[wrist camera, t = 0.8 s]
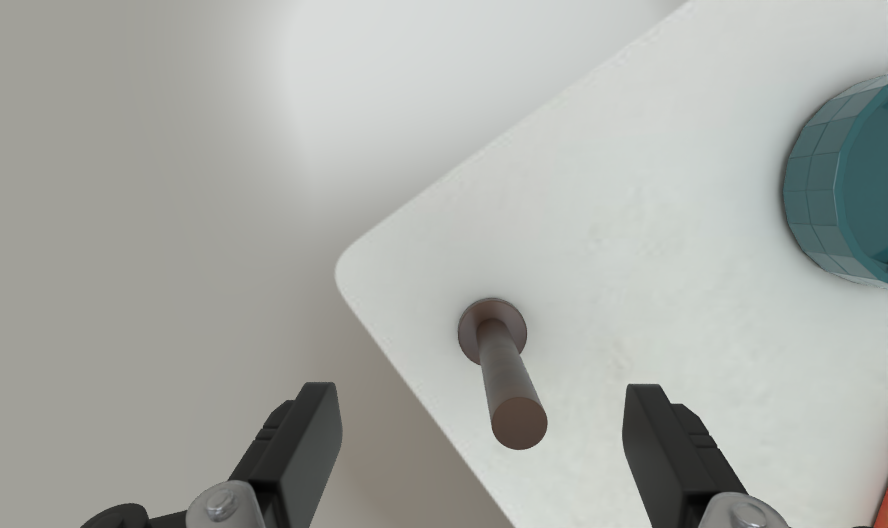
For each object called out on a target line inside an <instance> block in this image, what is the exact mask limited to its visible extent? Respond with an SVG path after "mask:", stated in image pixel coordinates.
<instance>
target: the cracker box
mask: <svg viewBox="0 0 888 528" xmlns="http://www.w3.org/2000/svg"><path fill="white" fill-rule="evenodd" d="M874 528H888V488H887V491H886V493H885V496H884V499H883V502H882V504H881V507H880V510H879V513H878V516H877V518H876V521H875V524H874Z"/></svg>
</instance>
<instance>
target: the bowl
mask: <svg viewBox="0 0 888 528" xmlns="http://www.w3.org/2000/svg"><path fill="white" fill-rule="evenodd" d="M783 191H784V192H783V197H784V203H785V209H786V216H787V222H788V225H789V226H790V228H791V230H792V232H793V234H794V236H795V238H796V240H797V241H798V243H799V245H800V247H801V249H802V250H803V251H804V252H805V253H806V254H807V255H808V256H809V257H810V258H812V259H813V260H814V261H815V262H816V263H817V264H818V265H819V266H820V267H822V268H823V269H824V270H826V271H827V272H829V273H832V274H834V275H837V276H839V277H841V278H844V279H846V280H849V281H851V282H854V283H859V284H864V285H869V286H874V287H879V288H884V289H888V74H887V75H884V76H880V77H877V78H874V79H870V80H867V81H864V82H860V83H858V84H856V85H854V86H853V87H851V88H849V89H848V90H846V91H844V92H843V93H841V94H839V95H838V96H836V97H834V98H833V99H831V100H829V101H828V102H827V103H826V104H825V105H824V106H823V107H822V108H821V109H820V110H819V111H818V112H817V113H816V114H815V116H814V117H813V118H812V119H811V120H810V121H809V122H808V123H807V124H806V125H805V126H804V128H803V130H802V132H801V134H800V136H799V138H798V140H797V142H796V144H795V146H794V148H793V150H792V152H791V154H790V156H789V159H788V162H787V169H786V175H785V181H784V187H783Z"/></svg>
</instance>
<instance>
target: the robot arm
mask: <svg viewBox="0 0 888 528" xmlns="http://www.w3.org/2000/svg"><path fill="white" fill-rule="evenodd" d="M622 440H623V448H624V452H625V456H626V459H627V461H628V464H629V467H630V469H631V472H632V474H633V477H634V480H635V482H636V485H637V488H638V490H639V493H640V496H641V498H642V501H643V504H644V506H645V509H646V512H647V514H648V517H649V519H650V522H651V525H652V527H653V528H791V527H788V525H787V523H786V521H785V520H784V519H783V517H782V516H781V515H780V514H779V513H778V512H777V511H776V510H774V509H773V508H772V507H771V506H769V505H768V504H766V503H764V502H763V501H761V500H759V499H757V498H755V497H752V496H750V495H749V494H748V493H747V491H746V489H745V488H744V486H743V485H742V483H741V482H740V480H739V479H738V477H737V475H736V474H735V472H734V471H733V469H732V468H731V466H730V465H729V463H728V461H727V460H726V458H725V457H724V455H723V454H722V452H721V451H720V449H718V448H717V444H716V443H715V441H714V440H713V438H712V437H711V436H709V432H708V430H707V429H706V427H705V426H704V424H703V423H702V421H701V419H700V418H699V417H698V416H697V415H696V414H694V413H693V412H692V411H691V410H689V409H688V408H687V407H686V406H684V405H683V404H671V403H670V401H669V400H668V398H667V396H666V395H665V393H664V391H663V389H662V388H661V386H660V385H659V384H628V386H627V389H626V398H625V408H624V418H623V428H622ZM341 443H342V422H341V416H340V410H339V403H338V397H337V391H336V386H335V384H334V383H333V382H307V383H305V384H304V386H303V388H302V389H301V391H300V393H299V394H298V396H297V398H296V399H295V400H287V401H285V402H284V403H283V404H281V405H280V406H279V407H278V408H277V409H275V410H274V411H273V412H272V413H271V414H270V416H269V417H268V419H267V420H266V422H265V423H264V425H263V429H261V430H260V431H259V433H258V434H257V436H256V439H255V440H254V441H253V442H252V444H251V445H250V447H249V448H248V450H247V451H246V453H245V454H244V456H243V457H242V459H241V461H240V462H239V464H238V465H237V467H236V468H235V470H234V471H233V473H232V474H231V476H230V477H229V479H228V481H226V482H222V483H219V484H216V485H214V486H212V487H210V488H209V489H207V490H205V491H204V492H203V493H201V494H200V495H199V496H198V497H197V498H196V499H195V500H194V501H193V502H192V504H191V505H190V506H189V508H188V510H185V511H182V512H177V513H173V514H169V515H165V516H161V517H157V518H152V519H149V517H148V515H147V512H146V510H145V508H144V507H143V506H141V505H139V504H134V503H129V504H121V505H117V506H114V507H111V508H109V509H107V510H104V511H103V512H101V513H99V514H97V515H96V516H94V517H93V518H91V519H90V520H88V521H87V522H86V523H85V524H84V525H82V526H81V527H80V528H309V526H310V524H311V521H312V518H313V516H314V513H315V511H316V509H317V506H318V503H319V501H320V498H321V496H322V493H323V491H324V488H325V486H326V483H327V481H328V478H329V476H330V473H331V471H332V468H333V466H334V463H335V461H336V458H337V455H338V453H339V450H340V447H341ZM853 528H874V527H867V526H858V527H853Z"/></svg>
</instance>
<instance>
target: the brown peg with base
mask: <svg viewBox="0 0 888 528" xmlns="http://www.w3.org/2000/svg"><path fill="white" fill-rule="evenodd" d="M458 340H459V344H460V347H461V349H462V351H463V352H464V354H465V355H466V356H467V357H468V358H469V359H470V360H471V361H473V362H474V363H476V364H478V365H481V368H482V373H483V379H484V385H485V391H486V396H487V402H488V408H489V414H490V419H491V425H492V430H493V433H494V435H495V437H496V439H497V440H498V441H499V442H500V443H501V444H503V445H504V446H506V447H508V448H511V449H515V450H524V449H528V448H531V447H533V446H535V445H536V444H538V443H539V442H540V441H541V440H542V438H543V437H544V435H545V433H546V430H547V424H548V423H547V416H546V413H545V411H544V409H543V406H542V404H541V402H540V400H539V397H538V395H537V393H536V391H535V388H534V386H533V384H532V382H531V379H530V377H529V375H528V373H527V370H526V368H525V366H524V363H523V361H522V359H521V357H520V353H521V352H522V350H523V348H524V346H525V344H526V340H527V328H526V324H525V321H524V319H523V317H522V316H521V314H520V312H519V311H518V310H517V309H516V308H515V307H514V306H513V305H512V304H510V303H508V302H506V301H504V300H501V299H496V298H488V299H483V300H480V301H477V302H475V303H474V304H472V305H471V306H469V307H468V308H467V309H466V310H465V312H464V313H463V315H462V317H461V319H460V321H459V325H458Z"/></svg>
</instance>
